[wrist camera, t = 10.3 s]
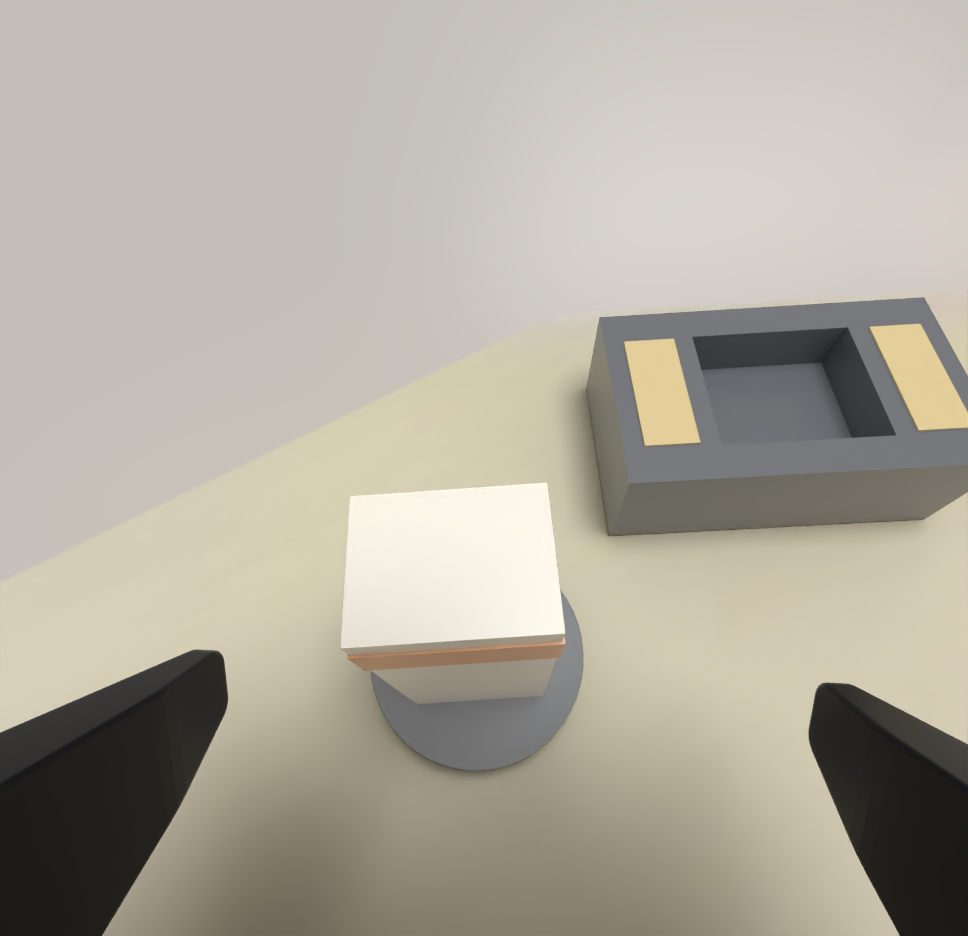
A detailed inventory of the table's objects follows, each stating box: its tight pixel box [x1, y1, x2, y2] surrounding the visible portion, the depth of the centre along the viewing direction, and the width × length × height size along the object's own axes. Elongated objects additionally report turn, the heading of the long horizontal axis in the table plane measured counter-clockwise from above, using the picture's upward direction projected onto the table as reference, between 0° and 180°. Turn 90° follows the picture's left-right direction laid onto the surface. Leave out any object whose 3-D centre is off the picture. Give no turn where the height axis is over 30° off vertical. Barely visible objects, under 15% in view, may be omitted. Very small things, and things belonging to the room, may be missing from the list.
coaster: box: [371, 590, 583, 771], centre depth 19 cm, size 7×7×2 cm
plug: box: [341, 483, 565, 704], centre depth 15 cm, size 3×4×9 cm
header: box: [586, 297, 968, 536], centre depth 21 cm, size 7×12×5 cm, turn 92°
